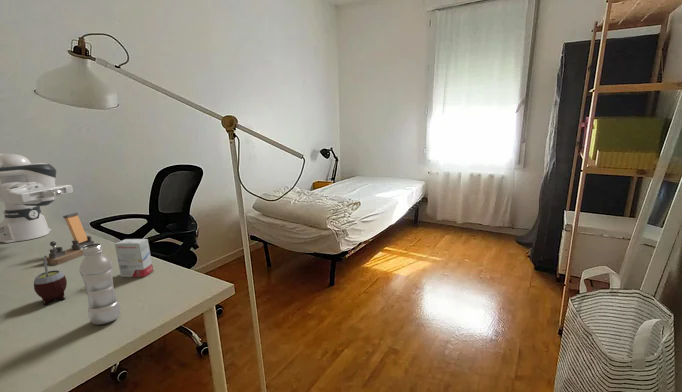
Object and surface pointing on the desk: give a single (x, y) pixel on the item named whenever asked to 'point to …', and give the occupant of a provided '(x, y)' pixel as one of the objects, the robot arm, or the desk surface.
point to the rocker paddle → (75, 227)
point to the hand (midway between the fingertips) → (58, 193)
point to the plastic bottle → (99, 285)
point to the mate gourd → (50, 285)
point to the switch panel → (67, 252)
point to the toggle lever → (53, 245)
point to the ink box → (134, 257)
